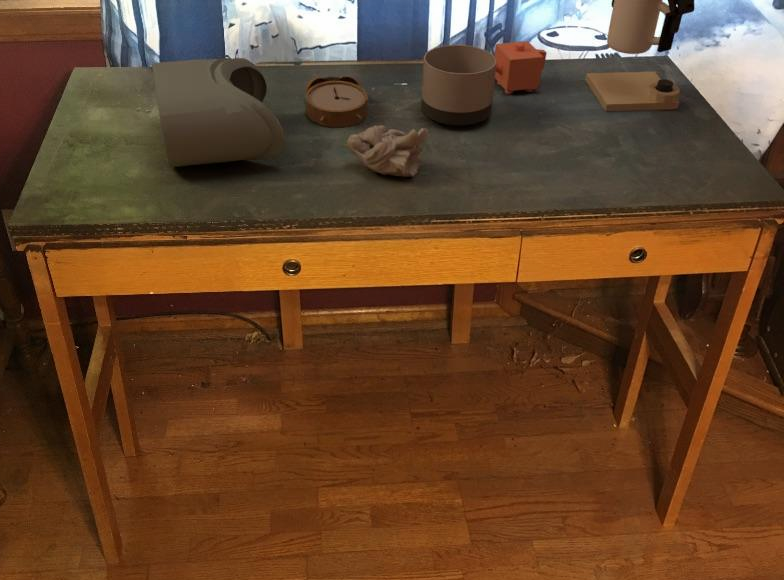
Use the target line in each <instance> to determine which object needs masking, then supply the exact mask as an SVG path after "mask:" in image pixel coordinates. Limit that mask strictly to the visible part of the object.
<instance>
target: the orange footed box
mask: <svg viewBox="0 0 784 580" xmlns="http://www.w3.org/2000/svg"><path fill="white" fill-rule="evenodd" d="M493 55H494V56H495V58H496V60H497V63H496V73H495V80H496V81H497V83H496V84H497V85H499V86H501V87H502V88H503V89H504V93H505V94H514V92H515V91H523V90H524V92H529V93H530V92H532V91H533V90H535V89H539V88H540V84H541V77H542V71H543V70H544V69H545V63H546V58H547V51H546V50H544V49H537V48H536V47H535V46H534V45H532V43H530V42H529V41H528V40H525V41H514V42H504V43H502V42H501V43H496V44H495V47H494V54H493Z"/></svg>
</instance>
